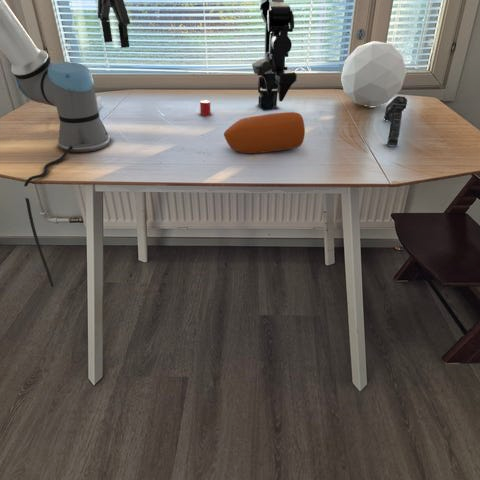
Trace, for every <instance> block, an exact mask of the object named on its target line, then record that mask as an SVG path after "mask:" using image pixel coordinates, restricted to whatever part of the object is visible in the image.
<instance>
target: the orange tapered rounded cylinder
mask: <svg viewBox="0 0 480 480" xmlns="http://www.w3.org/2000/svg"><path fill="white" fill-rule="evenodd" d="M305 126H306V125H305V121H304V118H303V116H302V114H301V113H299V112H295V111H288V112H287V111H285V112H275V113H274V112H273V113H267V114H260V115H254V116H253V115H252V116H248V117H243V118H241V119H238V120H236V122H234V123H233V124H232V125H230V126H229V127H228V128H226V129H225V131H224V132H223V137H224V140H225V141H226V143H227V144H228V146H229V147H230V148H231V149H233V150H234V151H237V152H240V153H243V154H257V153H258V154H259V153H268V152H276V151H285V150H289V149H296V148H298V147H301V145H302V144H303V142H304V139H305V134H306V127H305Z"/></svg>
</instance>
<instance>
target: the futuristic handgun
mask: <svg viewBox="0 0 480 480" xmlns="http://www.w3.org/2000/svg"><path fill="white" fill-rule="evenodd" d="M407 105H408V99H407V97H406V96H400V95H398V96H396V97H393V98H392V99H391V100H390V101H389V102H388V104H387V105H386V106H385V110H384V115H383V121H385V122H389V124H390V125H389V132H388V137H387V141H386V142H387V143H386V146H395V147H396V146H398V142H399V137H400V129H401V124H402V116H403V112H404V110H406V109H407ZM384 119H385V120H384ZM386 120H388V121H386Z"/></svg>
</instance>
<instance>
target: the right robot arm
mask: <svg viewBox="0 0 480 480" xmlns="http://www.w3.org/2000/svg"><path fill="white" fill-rule="evenodd" d="M258 3H259V6H258V7H259V11H260V17H261V18H262V20H263V22H264V57H263V58H261V59H258V60H257V61H255V62H252V64H251V67H252V70H253V73H254V74H255V75H257V76H259V77H258V79H257V80H258V81H257V92H258V101H257V102H258V104H257V107H259V108H260V109H261V110H263V111H267V110H276V109H279V106H278V105H277V104H278V101H279V102H283V101H284V99H285V97H286V95H287V93H288V92H289V91H290V88H291V87H292V85H293V84H295V83H296V82H297V80H298V77H297V76H298V75H297V73H296V72H295V71H293V70H289V69H288V66H287V65H286V61H287V60H286V59H287V58H289V52H291V50H292V45H293V44H292V41H291V38H290V37H289V33H293V31H294V28H295V15H294V13H293V10H292V9H291V6H290V5H289V4H288V3H285V0H259V2H258Z"/></svg>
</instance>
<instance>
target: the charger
mask: <svg viewBox="0 0 480 480" xmlns="http://www.w3.org/2000/svg"><path fill="white" fill-rule="evenodd" d="M96 100H97V105H98V111H99V110H100V109H101V108H102V107H103V102H102V96H100V95H99V94H96Z"/></svg>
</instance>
